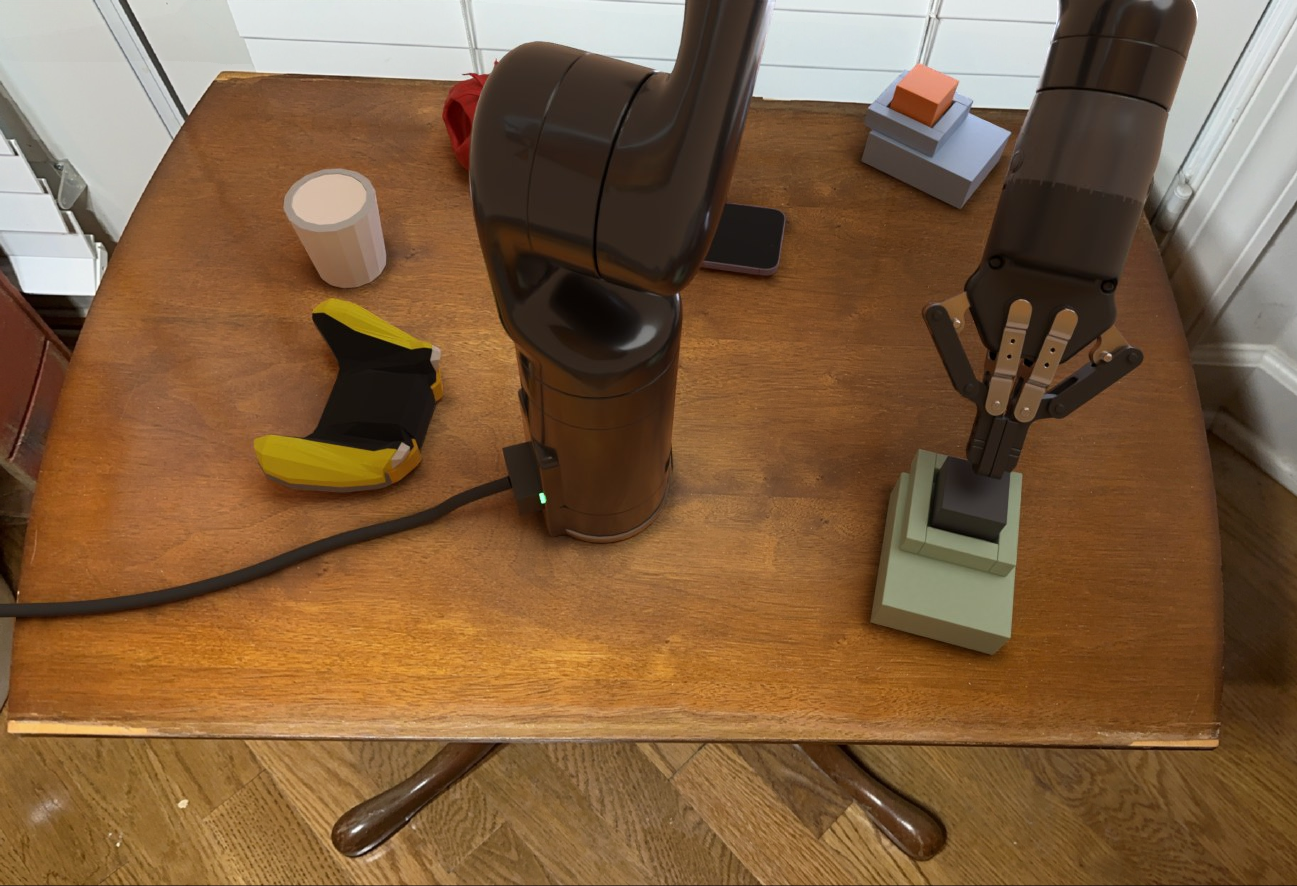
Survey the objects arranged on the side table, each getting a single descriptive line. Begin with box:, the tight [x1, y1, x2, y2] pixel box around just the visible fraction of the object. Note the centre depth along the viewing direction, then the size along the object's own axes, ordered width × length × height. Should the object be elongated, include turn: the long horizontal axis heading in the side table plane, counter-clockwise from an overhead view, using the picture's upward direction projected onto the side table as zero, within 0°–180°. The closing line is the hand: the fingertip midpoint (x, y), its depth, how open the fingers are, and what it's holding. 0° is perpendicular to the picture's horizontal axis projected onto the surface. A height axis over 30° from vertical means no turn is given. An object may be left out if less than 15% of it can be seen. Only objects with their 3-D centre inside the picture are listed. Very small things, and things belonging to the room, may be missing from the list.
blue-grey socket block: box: [861, 69, 1012, 210], centre depth 82 cm, size 11×8×5 cm
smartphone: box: [700, 202, 786, 277], centre depth 78 cm, size 7×1×15 cm
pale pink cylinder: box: [283, 167, 387, 289], centre depth 72 cm, size 7×7×7 cm
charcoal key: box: [930, 455, 1011, 542], centre depth 58 cm, size 4×4×2 cm
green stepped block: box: [869, 448, 1023, 656], centre depth 60 cm, size 11×8×5 cm
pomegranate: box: [441, 58, 499, 172], centre depth 79 cm, size 10×10×9 cm
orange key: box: [890, 62, 960, 127], centre depth 80 cm, size 4×4×3 cm
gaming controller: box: [253, 297, 444, 493], centre depth 65 cm, size 15×6×10 cm
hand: (985, 473), depth 56 cm, fingers closed
